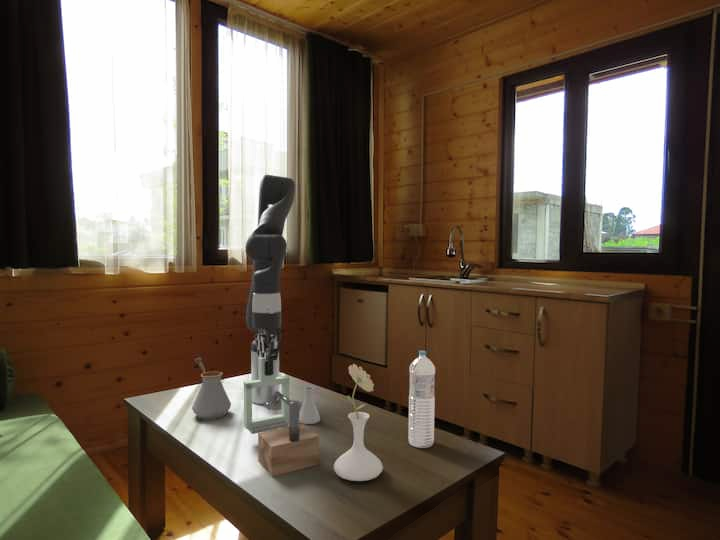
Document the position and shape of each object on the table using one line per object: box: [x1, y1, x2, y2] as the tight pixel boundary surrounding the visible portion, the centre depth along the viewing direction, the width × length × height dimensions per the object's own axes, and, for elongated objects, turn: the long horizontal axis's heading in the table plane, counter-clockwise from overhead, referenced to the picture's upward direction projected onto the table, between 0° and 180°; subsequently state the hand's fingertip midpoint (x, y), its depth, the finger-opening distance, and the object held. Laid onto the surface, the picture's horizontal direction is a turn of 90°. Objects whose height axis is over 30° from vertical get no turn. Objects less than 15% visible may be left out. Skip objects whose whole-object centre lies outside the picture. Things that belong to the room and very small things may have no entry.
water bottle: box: [407, 350, 436, 449], centre depth 125 cm, size 7×7×25 cm
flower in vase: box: [333, 363, 384, 482], centre depth 108 cm, size 13×11×25 cm
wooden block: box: [257, 423, 320, 477], centre depth 113 cm, size 9×12×7 cm
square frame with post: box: [243, 357, 290, 435], centre depth 125 cm, size 5×12×19 cm, turn 122°
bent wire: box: [263, 390, 300, 442], centre depth 118 cm, size 21×2×9 cm, turn 31°
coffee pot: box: [191, 357, 232, 421], centre depth 148 cm, size 21×12×15 cm, turn 34°
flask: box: [299, 386, 321, 425], centre depth 141 cm, size 7×7×10 cm
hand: (267, 373), depth 125 cm, fingers closed on square frame with post, 2 cm apart
